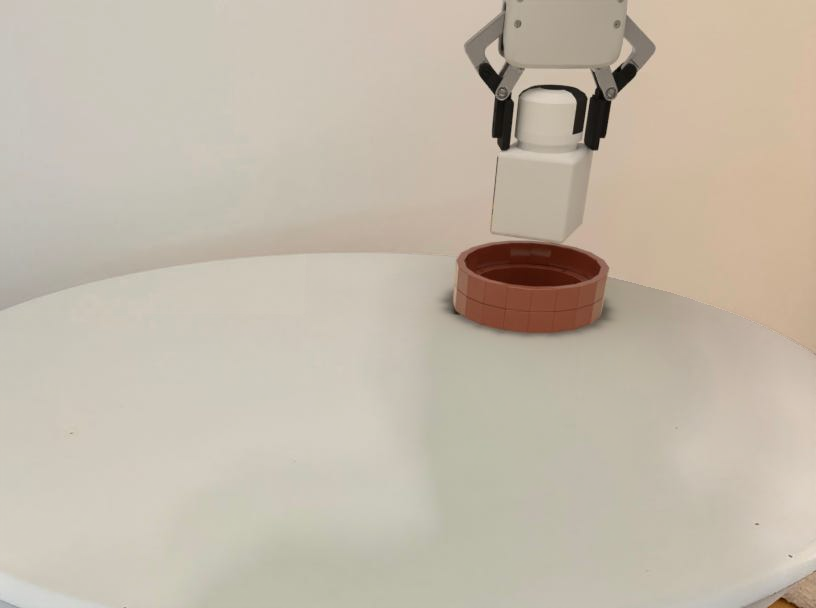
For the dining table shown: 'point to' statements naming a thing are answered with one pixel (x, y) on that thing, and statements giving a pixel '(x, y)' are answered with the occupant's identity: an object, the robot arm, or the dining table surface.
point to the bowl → (530, 286)
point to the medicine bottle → (543, 167)
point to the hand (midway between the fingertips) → (546, 145)
